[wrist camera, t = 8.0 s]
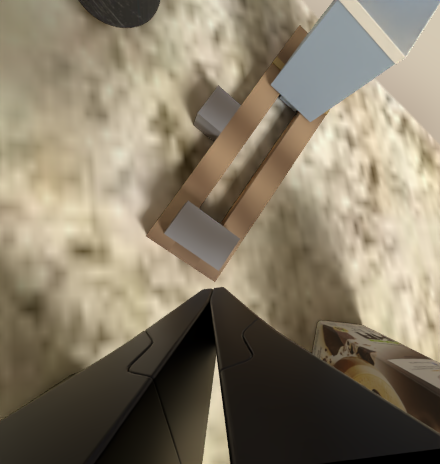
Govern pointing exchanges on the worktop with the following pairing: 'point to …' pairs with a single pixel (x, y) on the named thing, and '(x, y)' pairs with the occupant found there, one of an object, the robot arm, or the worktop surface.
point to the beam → (215, 164)
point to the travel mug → (122, 11)
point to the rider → (350, 51)
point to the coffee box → (383, 367)
